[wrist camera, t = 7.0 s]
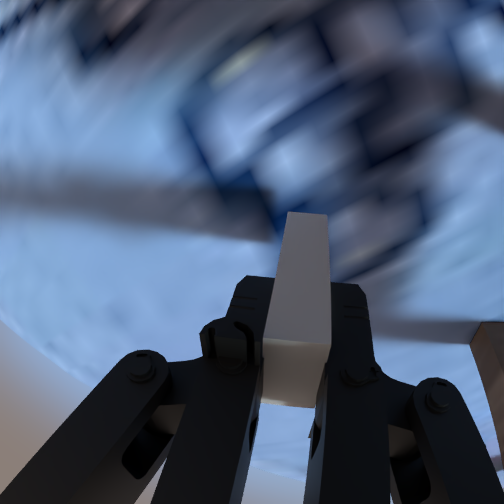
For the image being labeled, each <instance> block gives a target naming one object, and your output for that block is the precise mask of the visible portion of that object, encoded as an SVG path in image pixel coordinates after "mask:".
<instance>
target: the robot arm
mask: <svg viewBox="0 0 504 504" xmlns="http://www.w3.org/2000/svg"><path fill="white" fill-rule="evenodd" d="M199 335H200V341H201V347H202V353H203V356H202V357H199V358H197V359H194V360H188V361H178V362H167V361H166V359H165V357H164V356H162V355H161V354H159V353H158V352H155V351H151V350H137V351H134V352H132V353H129V354H127V355H126V356H125V357H123V358H122V359H121V360H120V361H119V362H118V363H117V364H116V365H115V366H114V367H113V368H112V370H111V371H110V372H109V373H108V374H107V375H106V376H105V377H104V378H103V379H102V380H101V382H100V383H99V384H98V385H97V386H96V387H95V388H94V389H93V390H92V391H91V392H90V394H89V395H88V396H87V397H86V398H85V399H84V400H83V401H82V402H81V404H80V405H79V406H78V407H77V408H76V409H75V410H74V411H73V412H72V414H71V415H70V416H69V417H68V418H67V419H66V420H65V421H64V423H63V424H62V425H61V426H60V427H59V428H58V429H57V430H56V431H55V433H54V434H53V435H52V436H51V437H50V438H49V439H48V440H47V441H46V443H45V444H44V445H43V446H42V447H41V448H40V449H39V451H38V452H37V453H36V454H35V455H34V456H33V457H32V459H31V460H30V461H29V462H28V463H27V464H26V466H25V467H24V468H23V469H22V470H21V471H20V472H19V473H18V475H17V476H16V477H15V478H14V479H13V480H12V482H11V483H10V484H9V485H8V486H7V487H6V489H5V490H4V491H3V492H2V493H1V494H0V504H134V503H135V502H136V500H137V499H138V497H139V496H140V495H141V493H142V492H143V490H144V489H145V488H146V486H147V485H148V484H149V482H150V481H151V479H152V478H153V477H154V475H155V474H156V472H157V471H158V469H159V468H160V466H161V465H162V464H163V462H164V461H165V459H166V458H167V459H166V462H165V464H164V467H163V470H162V473H161V476H160V479H159V481H158V484H157V487H156V490H155V492H154V495H153V498H152V501H151V504H241V501H242V497H243V492H244V487H245V483H246V479H247V474H248V469H249V465H250V460H251V455H252V450H253V445H254V441H255V436H256V431H257V426H258V421H259V408H260V403H266V404H275V405H283V406H293V407H304V408H315V404H316V408H315V418H314V421H313V424H312V428H311V431H310V434H309V437H308V438H311V441H310V451H309V461H308V469H307V478H306V486H305V494H304V501H303V504H390V493H391V497H392V500H393V503H394V504H504V492H503V489H502V486H501V484H500V481H499V478H498V476H497V473H496V471H495V468H494V466H493V463H492V461H491V458H490V456H489V454H488V451H487V449H486V447H485V444H484V442H483V440H482V438H481V435H480V433H479V431H478V429H477V427H476V424H475V422H474V420H473V418H472V416H471V414H470V412H469V410H468V408H467V406H466V404H465V401H464V399H463V397H462V395H461V394H460V392H459V391H458V389H457V388H456V387H455V385H453V384H452V383H450V382H449V381H447V380H445V379H442V378H438V377H435V378H427V379H425V380H423V381H421V382H420V383H419V384H418V385H417V386H413V385H410V384H406V383H403V382H400V381H397V380H395V379H392V378H390V377H389V376H387V375H386V374H385V373H383V371H382V370H381V367H380V366H379V365H378V364H377V363H376V361H375V357H374V351H373V342H372V334H371V327H370V320H369V312H368V306H367V299H366V295H365V293H364V292H363V291H362V289H361V288H360V287H359V285H358V284H346V283H335V282H330V260H329V239H328V222H327V215H321V214H310V213H298V212H288V215H287V221H286V226H285V231H284V236H283V241H282V247H281V252H280V257H279V262H278V267H277V272H276V277H275V278H269V277H259V276H249V275H246V276H245V277H244V278H243V279H242V280H241V281H240V282H239V283H238V284H237V285H236V288H235V291H234V294H233V298H232V300H231V302H230V306H229V308H228V311H227V314H226V317H223V318H220V319H216V320H213V321H212V322H210V323H208V324H207V325H205V326H204V328H203V329H202V330H201V332H200V333H199Z"/></svg>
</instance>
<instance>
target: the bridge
mask: <svg viewBox="0 0 504 504" xmlns="http://www.w3.org/2000/svg"><path fill="white" fill-rule="evenodd" d="M470 348H471V351H472V354H473V356H474V359H475V362H476V365H477V368H478V371H479V374H480V377H481V380H482V383H483V387H484V390H485V393H486V397H487V400H488V403H489V407H490V411H491V414H492V418H493V422H494V426H495V430H496V434H497V439H498V443H499V448H500V453H501V458H502V463H503V469H504V322H482V323H481V325H480V327H479V329H478V331H477V332H476V334H475V336H474V338H473V340H472V341H471V343H470Z"/></svg>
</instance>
